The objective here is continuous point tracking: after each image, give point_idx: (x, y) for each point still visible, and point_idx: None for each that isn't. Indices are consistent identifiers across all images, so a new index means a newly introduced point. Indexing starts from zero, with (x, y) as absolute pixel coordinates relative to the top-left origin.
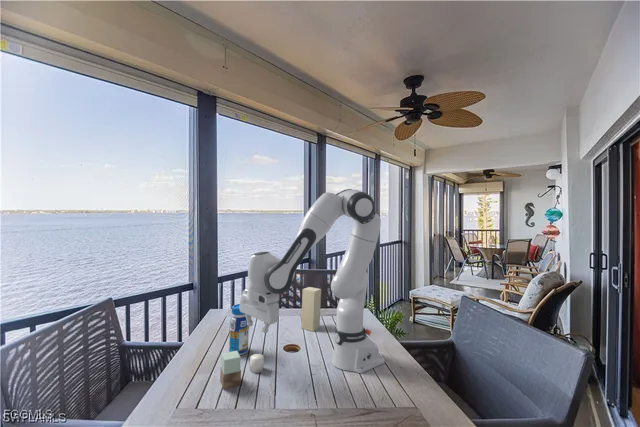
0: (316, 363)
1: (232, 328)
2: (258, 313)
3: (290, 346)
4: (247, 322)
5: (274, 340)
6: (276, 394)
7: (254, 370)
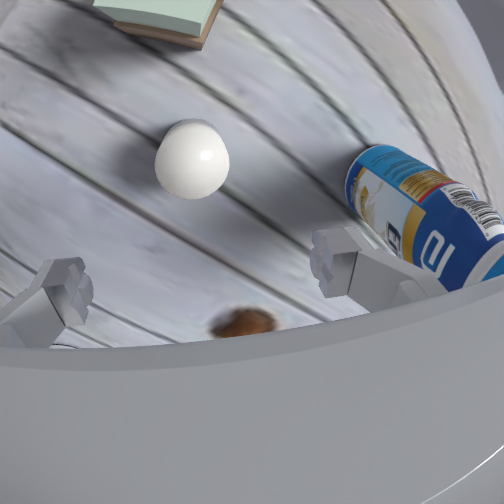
0: (104, 327)
1: (459, 192)
2: (42, 450)
3: (256, 331)
4: (360, 241)
5: (331, 314)
6: (3, 130)
7: (173, 127)
